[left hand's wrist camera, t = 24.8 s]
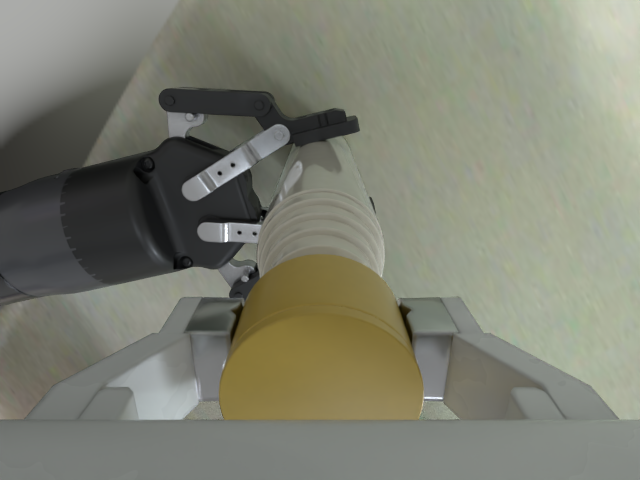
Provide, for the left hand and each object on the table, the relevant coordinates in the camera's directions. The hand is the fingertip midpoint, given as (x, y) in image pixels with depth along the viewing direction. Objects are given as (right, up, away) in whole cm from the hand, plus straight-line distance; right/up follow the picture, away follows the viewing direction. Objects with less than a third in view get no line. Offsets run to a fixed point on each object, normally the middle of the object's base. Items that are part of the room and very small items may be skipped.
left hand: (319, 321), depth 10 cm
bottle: (0, +8, +20) cm, 22 cm away
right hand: (+3, +6, +14) cm, 16 cm away
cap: (0, -1, -2) cm, 2 cm away
